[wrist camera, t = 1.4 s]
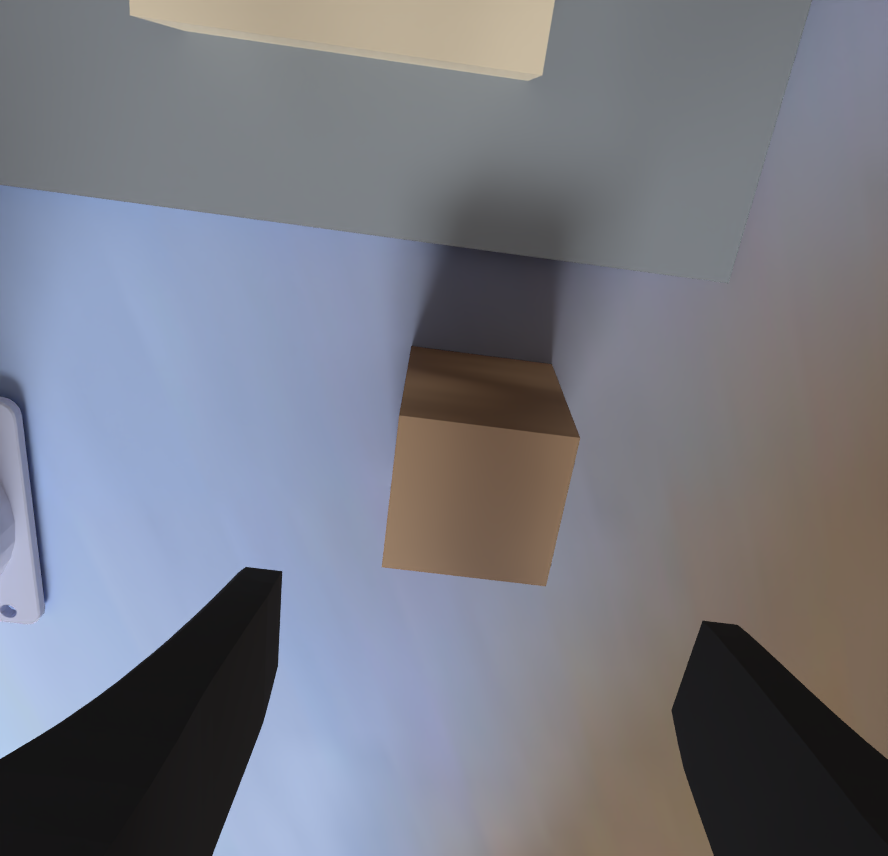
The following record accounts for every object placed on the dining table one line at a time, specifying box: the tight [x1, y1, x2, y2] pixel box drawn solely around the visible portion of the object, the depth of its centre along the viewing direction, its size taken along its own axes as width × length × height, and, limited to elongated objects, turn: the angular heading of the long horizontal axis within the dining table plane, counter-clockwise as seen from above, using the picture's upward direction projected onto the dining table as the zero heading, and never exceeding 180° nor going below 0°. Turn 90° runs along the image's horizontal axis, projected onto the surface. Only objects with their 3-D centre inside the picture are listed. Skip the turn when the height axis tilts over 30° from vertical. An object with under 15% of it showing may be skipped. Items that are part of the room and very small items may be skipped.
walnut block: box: [382, 346, 580, 586], centre depth 19 cm, size 4×4×5 cm
